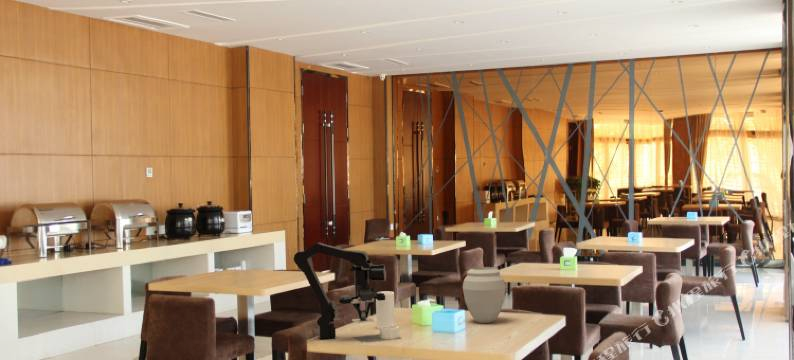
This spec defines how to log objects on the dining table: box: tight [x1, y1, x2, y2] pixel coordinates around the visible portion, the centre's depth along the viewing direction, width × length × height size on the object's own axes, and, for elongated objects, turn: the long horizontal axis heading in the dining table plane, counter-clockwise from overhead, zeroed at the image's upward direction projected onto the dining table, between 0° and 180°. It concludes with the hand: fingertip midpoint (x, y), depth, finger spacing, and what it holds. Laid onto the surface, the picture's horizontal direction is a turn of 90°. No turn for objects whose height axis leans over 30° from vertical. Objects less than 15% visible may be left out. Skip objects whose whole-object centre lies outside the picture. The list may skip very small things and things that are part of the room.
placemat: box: [353, 333, 402, 343], centre depth 337 cm, size 17×14×1 cm
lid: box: [351, 309, 375, 324], centre depth 339 cm, size 8×8×5 cm
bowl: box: [379, 325, 400, 341], centre depth 336 cm, size 8×8×4 cm
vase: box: [462, 266, 507, 324], centre depth 368 cm, size 20×20×24 cm
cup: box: [375, 290, 396, 330], centre depth 361 cm, size 8×8×16 cm
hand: (363, 318), depth 339 cm, fingers closed on lid, 2 cm apart
